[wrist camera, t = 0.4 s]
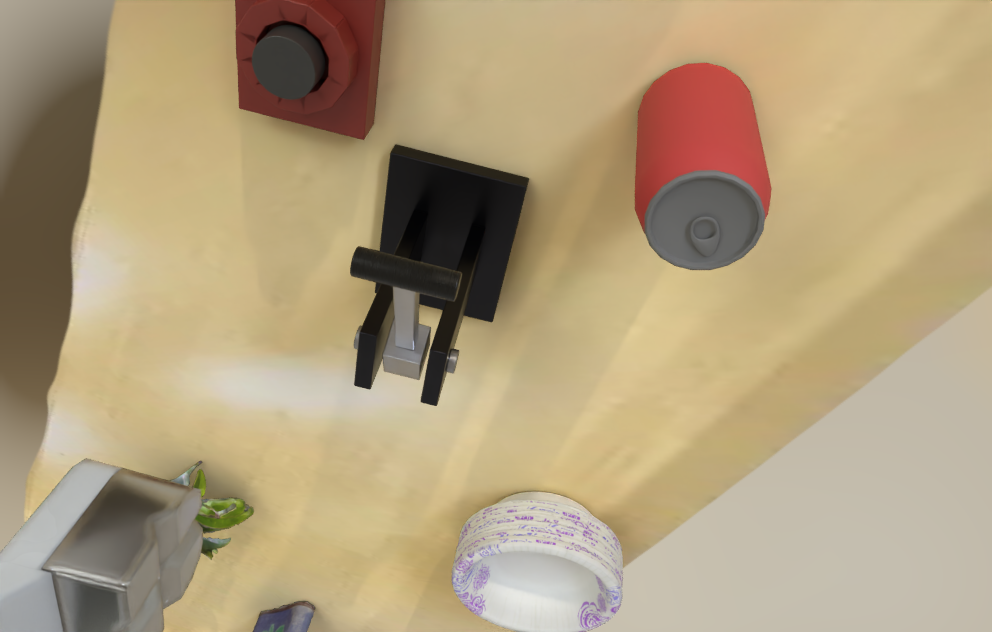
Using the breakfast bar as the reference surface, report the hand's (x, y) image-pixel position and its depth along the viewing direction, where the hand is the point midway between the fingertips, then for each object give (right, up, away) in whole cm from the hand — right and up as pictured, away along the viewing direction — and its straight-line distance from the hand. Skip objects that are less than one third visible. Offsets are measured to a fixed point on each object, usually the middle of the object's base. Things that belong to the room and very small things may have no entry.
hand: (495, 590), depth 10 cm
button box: (-11, +21, +36) cm, 43 cm away
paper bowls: (+5, -16, +64) cm, 66 cm away
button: (-11, +18, +33) cm, 40 cm away
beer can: (+12, +16, +36) cm, 41 cm away
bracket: (-3, +9, +44) cm, 45 cm away
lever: (-4, +5, +31) cm, 32 cm away
